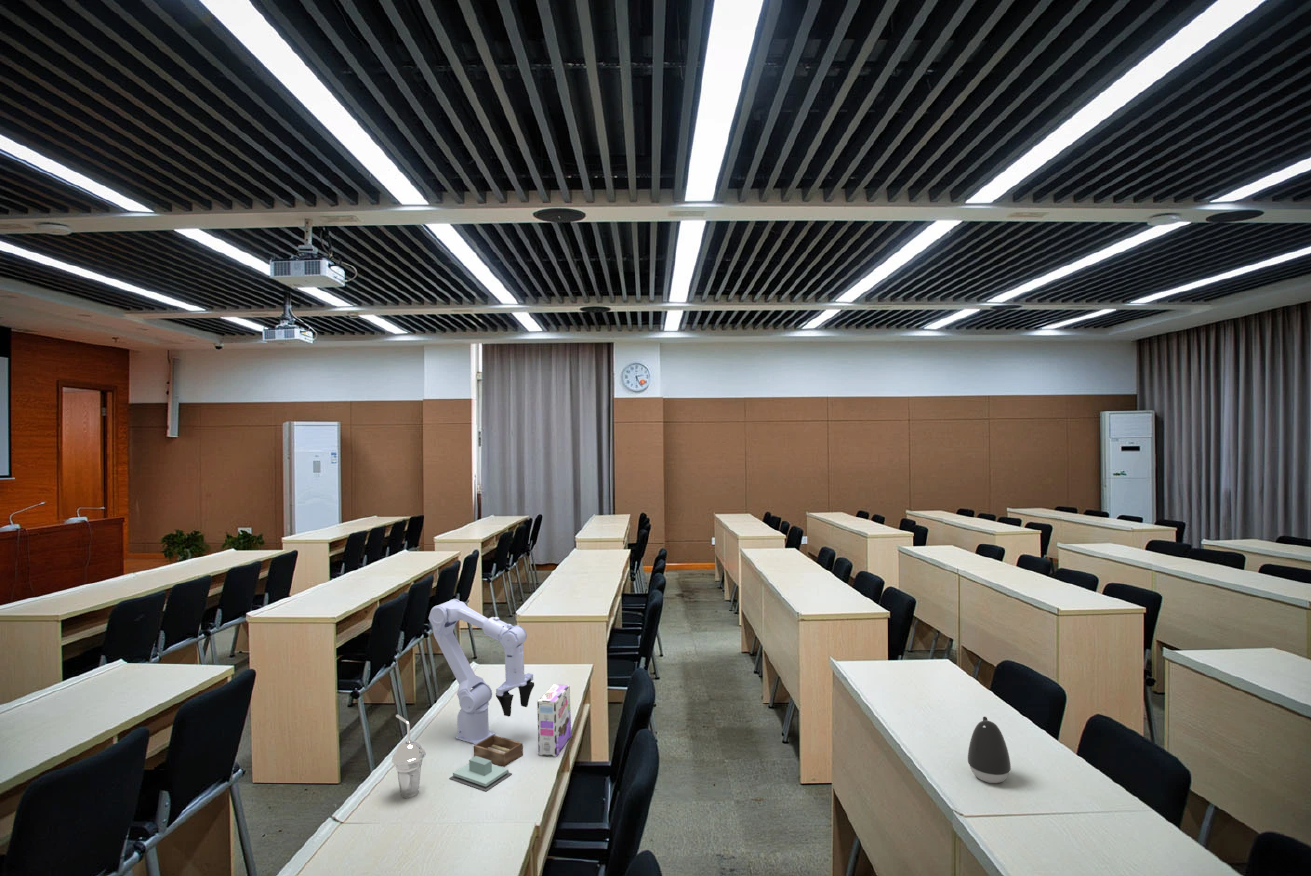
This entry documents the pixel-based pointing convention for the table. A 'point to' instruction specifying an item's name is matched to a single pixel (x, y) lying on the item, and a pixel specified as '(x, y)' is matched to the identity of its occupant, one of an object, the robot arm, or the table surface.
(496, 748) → the chalk box
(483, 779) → the lid
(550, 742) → the candy box
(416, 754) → the cup with straw
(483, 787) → the mat
